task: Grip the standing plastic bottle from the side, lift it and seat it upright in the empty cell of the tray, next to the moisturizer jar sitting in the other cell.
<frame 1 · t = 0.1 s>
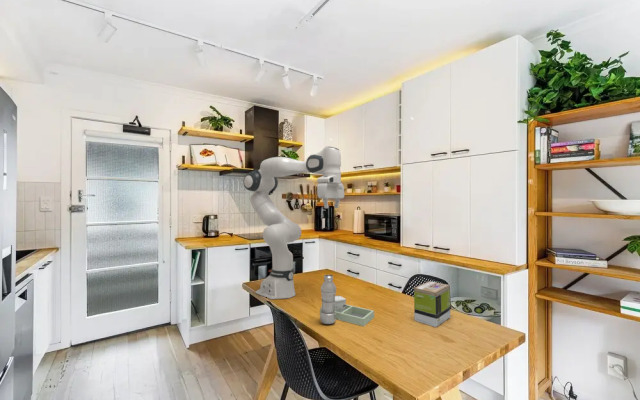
hand: (331, 208, 145), 48 cm above the table, tool pointing down, fingers open, 8 cm apart
skincare box: (336, 314, 135), resting in tray
tea box: (432, 319, 130), on the table
plastic bottle: (328, 323, 125), on the table
tray: (346, 316, 132), on the table
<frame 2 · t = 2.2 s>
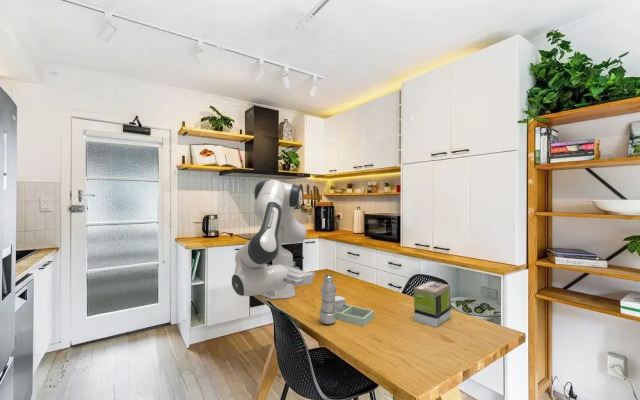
hand: (306, 271, 117), 24 cm above the table, tool horizontal, fingers open, 8 cm apart
nothing on the table moved.
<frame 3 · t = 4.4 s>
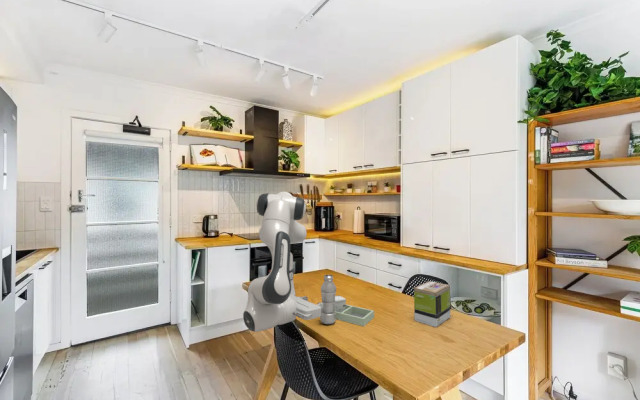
hand: (314, 301, 120), 11 cm above the table, tool horizontal, fingers open, 8 cm apart
nothing on the table moved.
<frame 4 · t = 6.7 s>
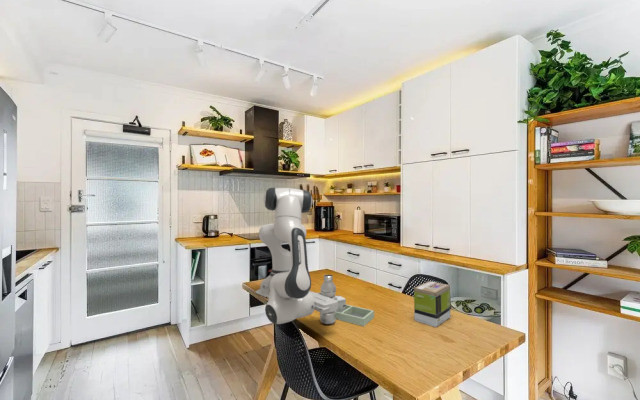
hand: (329, 296, 125), 11 cm above the table, tool horizontal, fingers closed on plastic bottle, 6 cm apart
plastic bottle: (328, 323, 125), on the table, touching gripper
everything else where it was.
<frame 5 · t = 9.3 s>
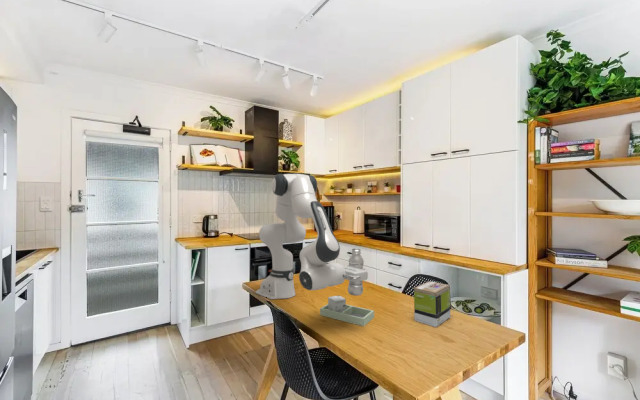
hand: (357, 268, 130), 22 cm above the table, tool horizontal, fingers closed on plastic bottle, 6 cm apart
plastic bottle: (355, 295, 129), point 10 cm above the table, touching gripper
everything else where it was.
when the fingers open (12 cm above the table, at t = 12.1 s): plastic bottle stays where it is, resting on tray.
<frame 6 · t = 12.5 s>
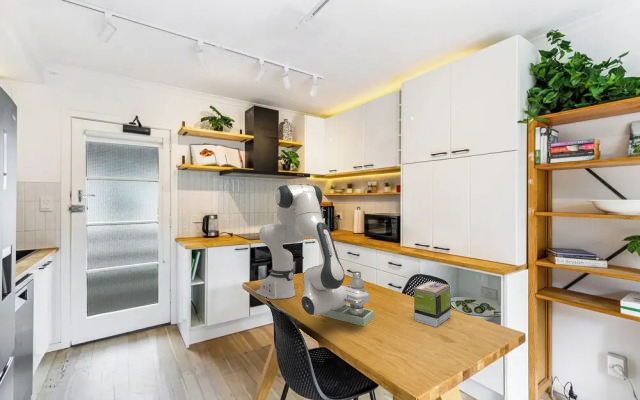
hand: (358, 289, 130), 12 cm above the table, tool horizontal, fingers open, 8 cm apart
plastic bottle: (356, 318, 130), resting on tray
everything else where it was.
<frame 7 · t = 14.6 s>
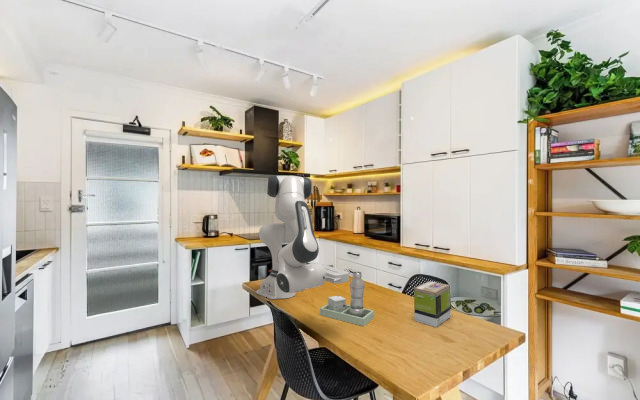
hand: (340, 269, 124), 23 cm above the table, tool horizontal, fingers open, 8 cm apart
nothing on the table moved.
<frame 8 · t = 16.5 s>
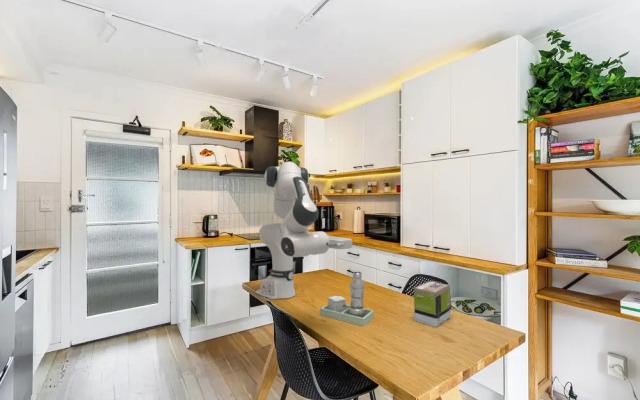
hand: (342, 239, 127), 35 cm above the table, tool horizontal, fingers open, 8 cm apart
nothing on the table moved.
at the end: plastic bottle inside the target area on the tray (0.4 cm from its centre), point 0.0 cm above the tray's base; plastic bottle tilted 0°; the gripper is holding nothing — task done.
